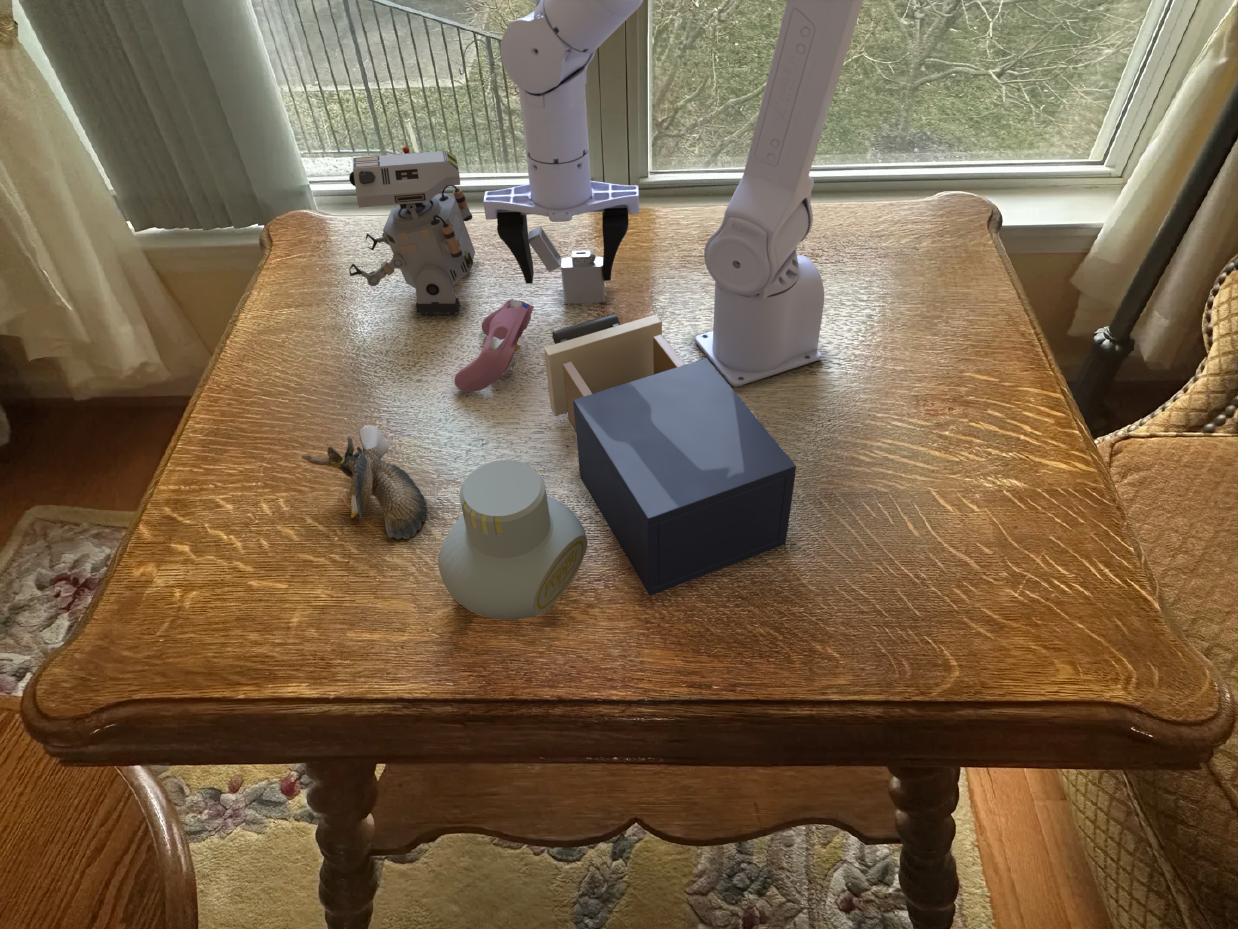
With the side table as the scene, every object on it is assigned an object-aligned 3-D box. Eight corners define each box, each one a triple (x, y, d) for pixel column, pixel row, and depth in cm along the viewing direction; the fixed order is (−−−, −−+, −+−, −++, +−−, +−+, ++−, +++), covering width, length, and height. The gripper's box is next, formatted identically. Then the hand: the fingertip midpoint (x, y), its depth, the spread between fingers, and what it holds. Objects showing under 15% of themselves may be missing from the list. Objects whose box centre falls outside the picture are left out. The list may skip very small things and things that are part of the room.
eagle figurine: (292, 502, 76) (347, 548, 70) (307, 418, 74) (365, 458, 68) (375, 500, 81) (432, 541, 75) (391, 421, 80) (451, 458, 74)
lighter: (604, 292, 97) (601, 223, 91) (604, 302, 96) (600, 233, 90) (536, 294, 97) (528, 225, 91) (535, 304, 96) (527, 235, 90)
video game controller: (494, 411, 87) (519, 361, 82) (448, 390, 86) (471, 338, 81) (523, 346, 93) (548, 296, 89) (481, 325, 93) (504, 274, 88)
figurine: (381, 267, 102) (348, 135, 91) (486, 267, 101) (465, 133, 90) (361, 318, 95) (323, 182, 85) (473, 317, 95) (449, 180, 84)
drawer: (533, 380, 86) (525, 319, 81) (637, 348, 89) (635, 288, 84) (606, 502, 75) (602, 440, 70) (721, 461, 78) (725, 399, 73)
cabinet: (579, 477, 78) (572, 399, 72) (704, 435, 81) (707, 357, 75) (649, 597, 69) (647, 519, 63) (786, 544, 72) (796, 465, 66)
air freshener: (514, 511, 76) (499, 419, 69) (602, 549, 73) (595, 457, 65) (429, 608, 69) (402, 518, 62) (522, 655, 66) (505, 565, 59)
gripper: (473, 173, 82) (493, 302, 92) (638, 167, 82) (641, 296, 92) (480, 136, 87) (498, 262, 97) (636, 130, 87) (639, 256, 97)
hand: (568, 276), depth 95 cm, fingers open, 7 cm apart
